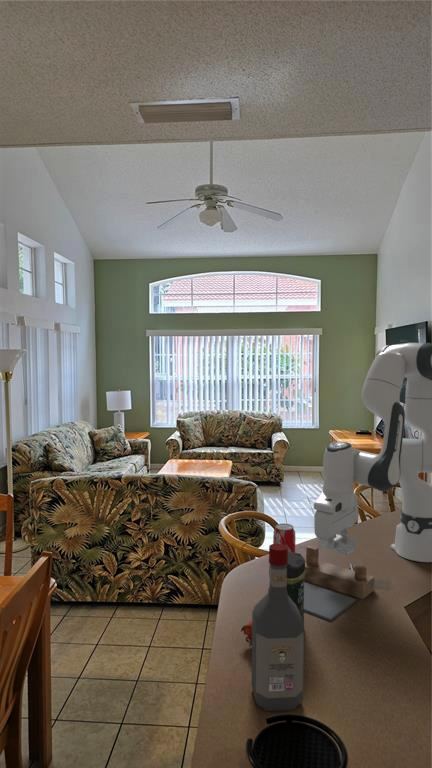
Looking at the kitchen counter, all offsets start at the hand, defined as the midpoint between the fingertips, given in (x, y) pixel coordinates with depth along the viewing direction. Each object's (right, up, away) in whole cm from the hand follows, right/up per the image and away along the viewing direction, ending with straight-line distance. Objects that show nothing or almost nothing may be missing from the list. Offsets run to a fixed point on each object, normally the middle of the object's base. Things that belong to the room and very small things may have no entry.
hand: (337, 544), depth 153 cm
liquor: (-24, -15, -50) cm, 57 cm away
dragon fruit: (-24, -14, -34) cm, 43 cm away
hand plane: (0, -12, 0) cm, 12 cm away
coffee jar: (-18, -13, -25) cm, 34 cm away
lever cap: (0, -1, 0) cm, 1 cm away
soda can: (-14, -11, +15) cm, 23 cm away
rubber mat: (-9, -12, -10) cm, 18 cm away
